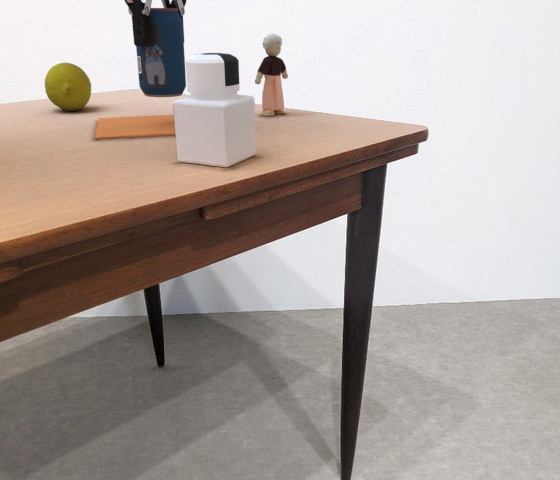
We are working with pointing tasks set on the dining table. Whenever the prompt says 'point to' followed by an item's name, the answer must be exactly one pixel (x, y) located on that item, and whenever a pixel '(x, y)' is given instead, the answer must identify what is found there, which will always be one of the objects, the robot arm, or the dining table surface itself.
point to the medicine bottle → (214, 113)
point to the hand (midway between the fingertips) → (160, 44)
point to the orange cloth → (135, 126)
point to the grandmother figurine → (272, 76)
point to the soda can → (163, 56)
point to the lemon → (68, 86)
